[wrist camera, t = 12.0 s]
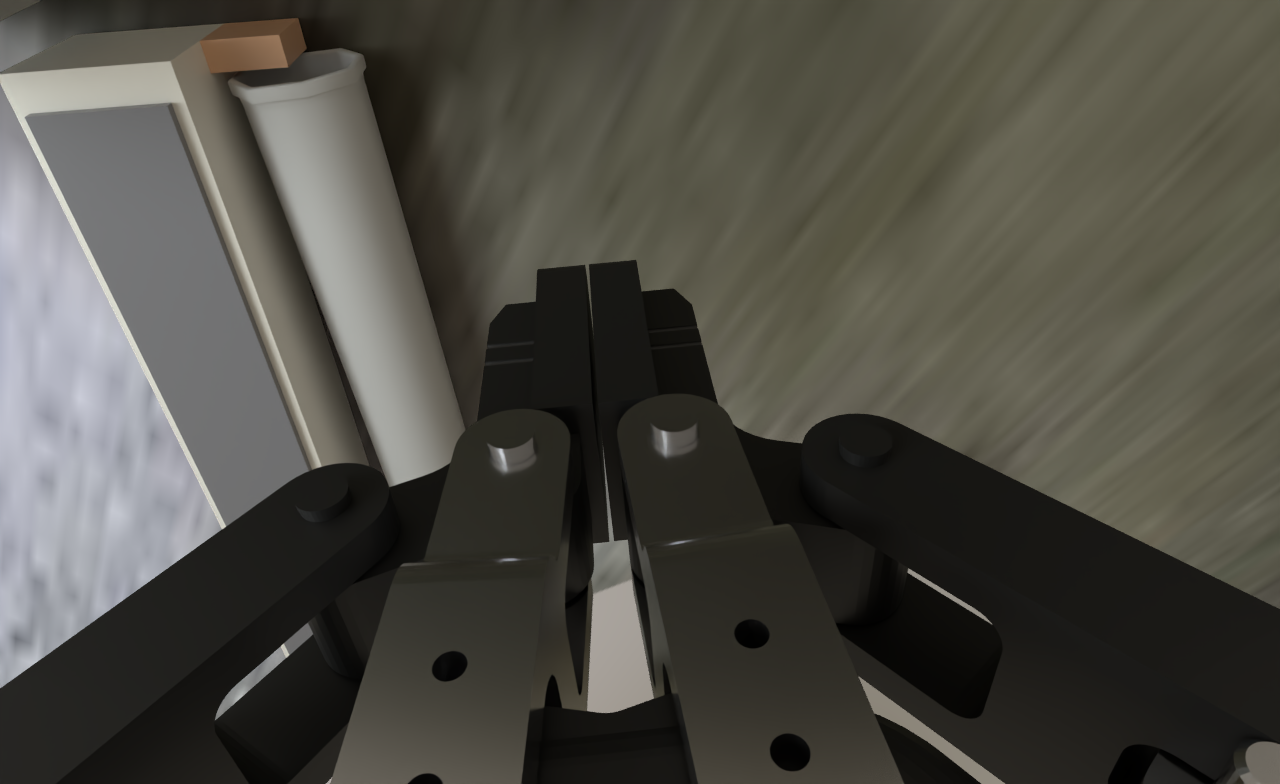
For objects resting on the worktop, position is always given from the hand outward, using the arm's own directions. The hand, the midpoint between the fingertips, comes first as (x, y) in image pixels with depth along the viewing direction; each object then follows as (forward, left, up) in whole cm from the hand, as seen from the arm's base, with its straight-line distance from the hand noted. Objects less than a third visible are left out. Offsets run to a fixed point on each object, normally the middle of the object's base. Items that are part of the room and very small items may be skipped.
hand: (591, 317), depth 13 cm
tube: (+10, +14, -27) cm, 32 cm away
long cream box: (+16, +18, -27) cm, 36 cm away
